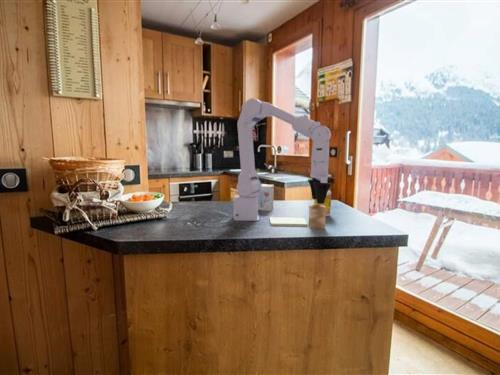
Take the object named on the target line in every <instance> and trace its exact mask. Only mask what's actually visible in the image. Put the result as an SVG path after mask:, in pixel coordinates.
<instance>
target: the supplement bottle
mask: <svg viewBox="0 0 500 375" xmlns="http://www.w3.org/2000/svg"><path fill="white" fill-rule="evenodd" d="M331 203H332V192H331V190H328V192H327V195H326V198H325V202H324V204H318V203H317V199H313V205H324V206H325V207H326V217H329V216H330V215H331V205H332V204H331Z"/></svg>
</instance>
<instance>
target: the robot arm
mask: <svg viewBox="0 0 500 375" xmlns="http://www.w3.org/2000/svg"><path fill="white" fill-rule="evenodd" d="M267 117H268V118H269V117H274V118H277V119H279V120H280V121H283V122H285V123H287V124H288V125H289V124H290V126H291V127H292V130H293V131H295V132H296V133H298V134H300V135H303V136H304V137H306V138H308V139H311V140H312V148H311V162H310V163H311V164H310V175H309V176H310V178H311V179H309V178H308V179H307V182H308V183H309V187H310V191H311V192H310V193H311V198H312V200H314V199H317V203H318V204H324V202H325V198H326V195H327V192H328V190H329V189H331V188H330V187H331V186H332V183H330V182H329V183H328V179H329V178H332V174H329V163H330V161H329V160H330V139H331V138H332V132H331V130H330V129H329V128H328V127H327V125H321V122H320V121H315V120H313V119H311V118H309V116H308V115H307V114H299V115H293V114H292V113H290V112H288V111H287V110H285V109H282V108H281V107H279V106H277V105H275V104H272V103H270V102H265V101H263V100H259V99H257V98H254V97H251V98H249V99H247V100H245V102H244V103H243V104H242V106H241V113H240V115H239V118H238V120H237V123H236V124H237V134H238V135H237V138H238V149H239V150H238V151H239V162H240V173H239V174H238V176H237V177H238V178H237V179H238V180H237V184H236V191H237V193H238V194H239V195H234V196H233V211H232V212H233V213H232V215H233V221H240V222H241V221H243V222H244V221H248V222H249V221H251V222H252V221H254V222H257V221H258V222H259V221H260V216H259V210H258V191H259V190H260V188H261V184H262V183H261V180H260V179H259V174H258V172H257V171H256V166H255V165H256V163H255V153H254V152H255V151H254V139H253V127H254V126H255V125H256V124H257V123H258V122H260V121H261V120H263V119H265V118H267ZM329 191H330V190H329Z"/></svg>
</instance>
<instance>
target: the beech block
mask: <svg viewBox="0 0 500 375" xmlns="http://www.w3.org/2000/svg"><path fill="white" fill-rule="evenodd" d="M308 206H309V208H308V209H309V210H308V226H307V227H309V229H326V217H327V216H326V207H325V206H324V205H314V204H309V205H308Z"/></svg>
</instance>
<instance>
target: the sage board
mask: <svg viewBox="0 0 500 375" xmlns="http://www.w3.org/2000/svg"><path fill="white" fill-rule="evenodd" d="M269 224H270V226H271V227H309V226H308V225H309V223H308V222H307V221H306V219H305V218H304V217H287V216H286V217H283V216H281V217H279V216H278V217H275V216H270V217H269Z"/></svg>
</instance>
